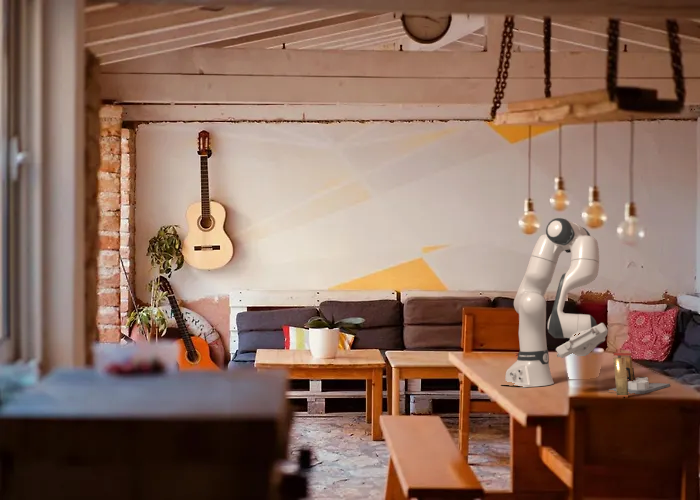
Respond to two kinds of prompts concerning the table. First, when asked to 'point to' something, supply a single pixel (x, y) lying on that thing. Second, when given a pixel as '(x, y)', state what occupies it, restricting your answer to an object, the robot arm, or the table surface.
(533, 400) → the table surface
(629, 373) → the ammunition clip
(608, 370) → the table surface
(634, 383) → the coupling board
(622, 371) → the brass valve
